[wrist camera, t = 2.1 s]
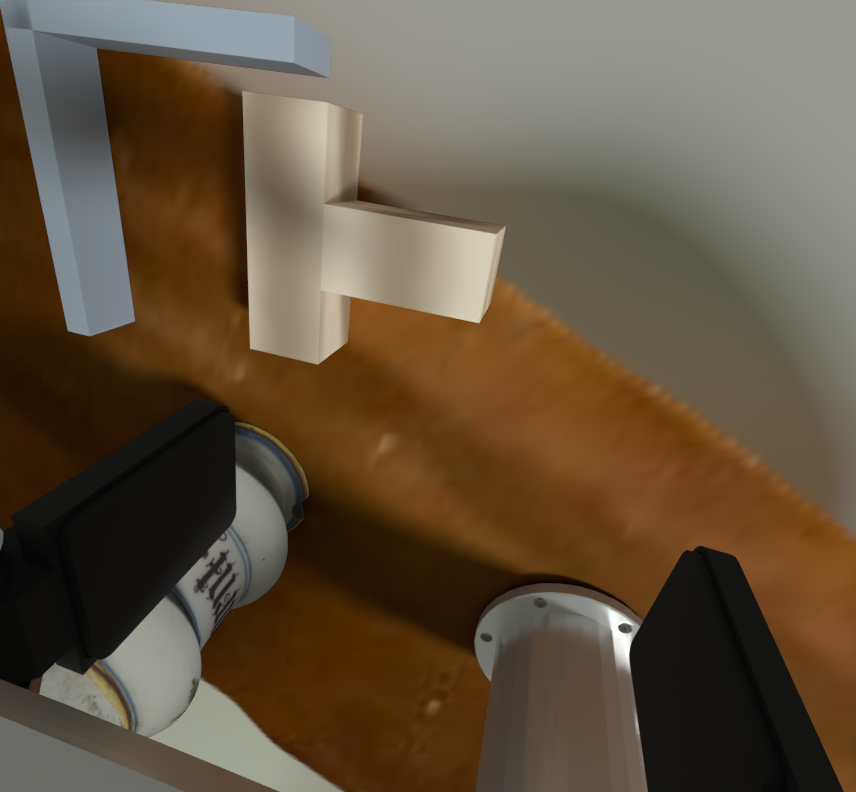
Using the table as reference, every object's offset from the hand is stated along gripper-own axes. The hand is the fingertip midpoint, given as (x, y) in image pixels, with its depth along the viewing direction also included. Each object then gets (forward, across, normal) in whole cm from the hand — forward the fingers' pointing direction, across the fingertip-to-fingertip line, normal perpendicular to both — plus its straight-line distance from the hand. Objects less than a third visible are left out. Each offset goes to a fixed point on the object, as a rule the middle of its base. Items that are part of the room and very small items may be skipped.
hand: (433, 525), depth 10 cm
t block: (+18, +7, -2) cm, 19 cm away
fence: (+18, +19, -2) cm, 26 cm away
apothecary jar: (+18, +16, +17) cm, 29 cm away
